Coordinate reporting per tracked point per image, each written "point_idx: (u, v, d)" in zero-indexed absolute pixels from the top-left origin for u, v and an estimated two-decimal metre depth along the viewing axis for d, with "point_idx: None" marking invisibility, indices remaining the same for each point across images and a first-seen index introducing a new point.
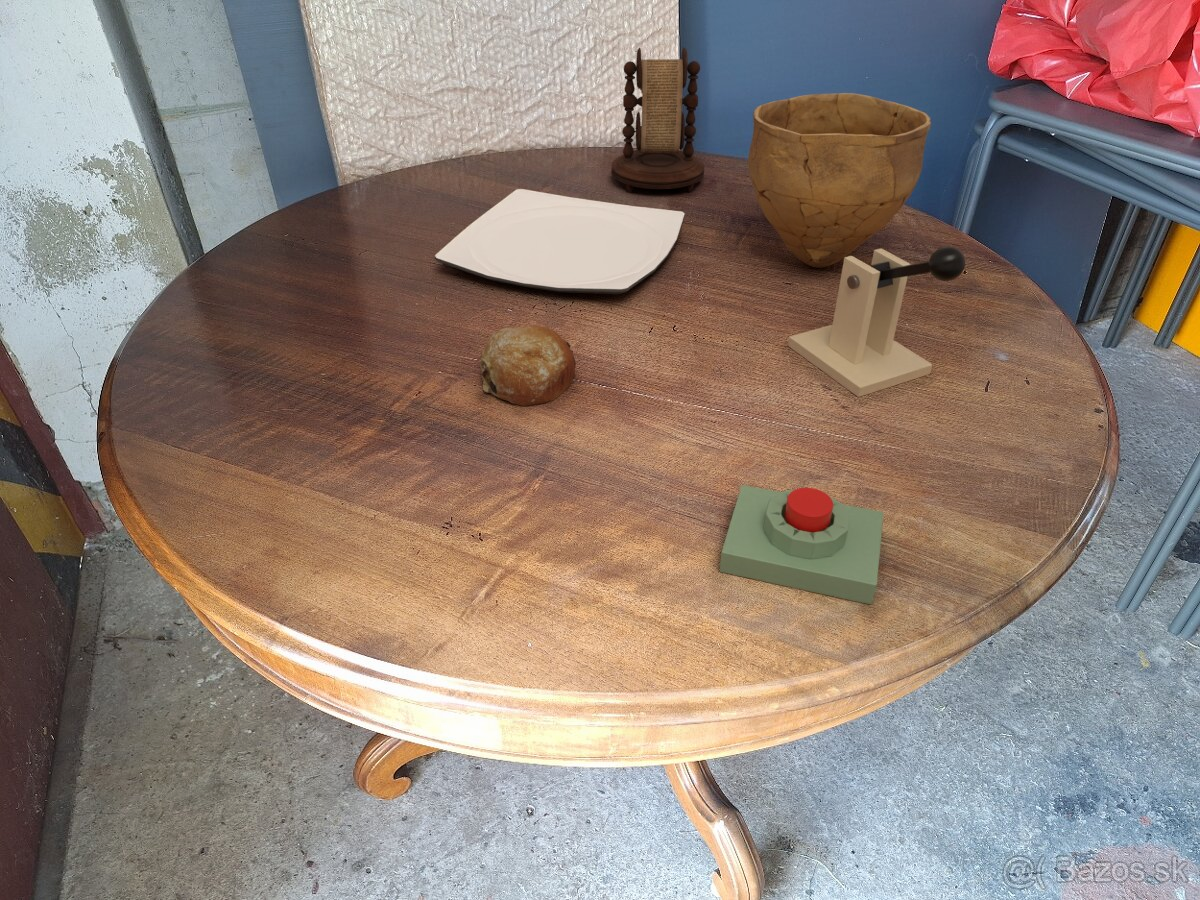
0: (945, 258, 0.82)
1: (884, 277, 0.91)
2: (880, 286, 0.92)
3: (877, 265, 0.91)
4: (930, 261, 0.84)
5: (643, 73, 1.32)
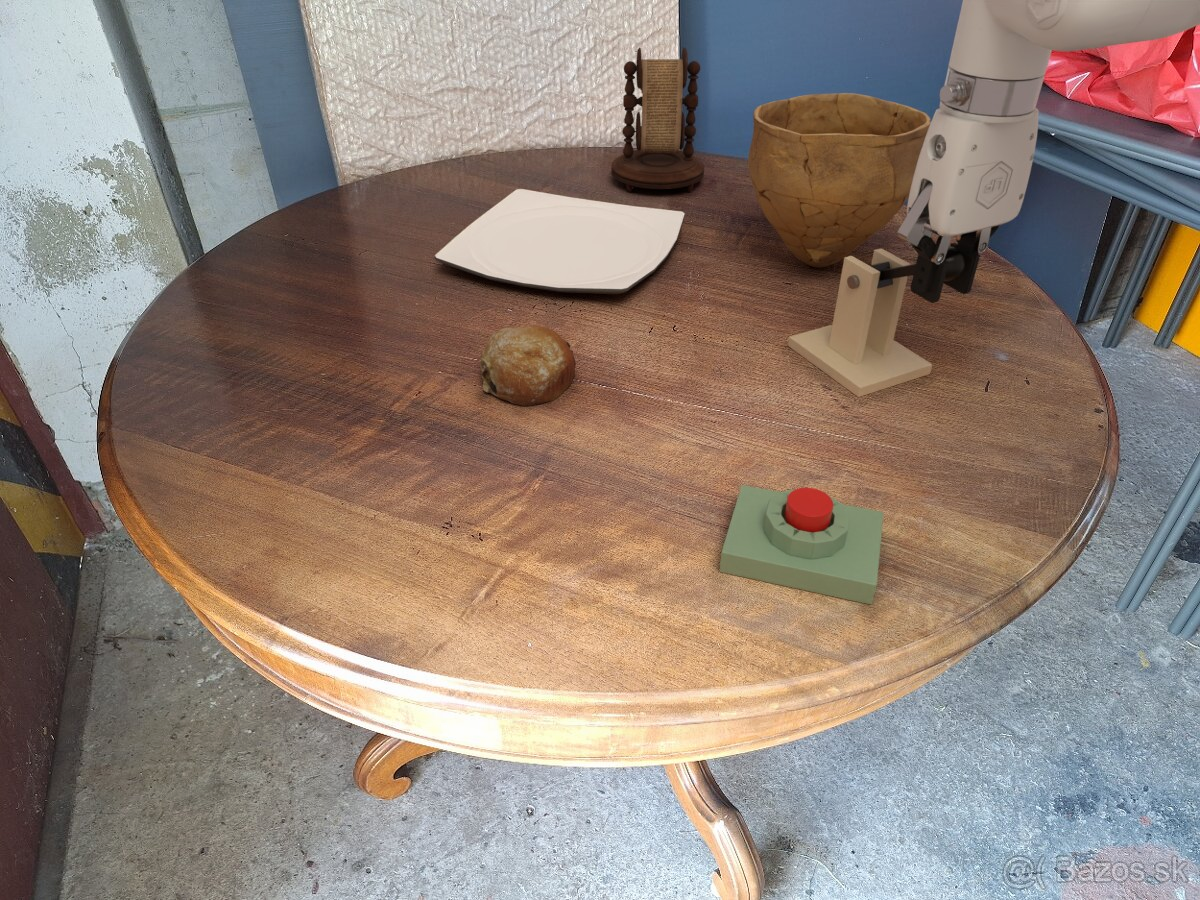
0: (945, 258, 0.82)
1: (884, 277, 0.91)
2: (880, 286, 0.92)
3: (877, 265, 0.91)
4: None
5: (643, 73, 1.32)
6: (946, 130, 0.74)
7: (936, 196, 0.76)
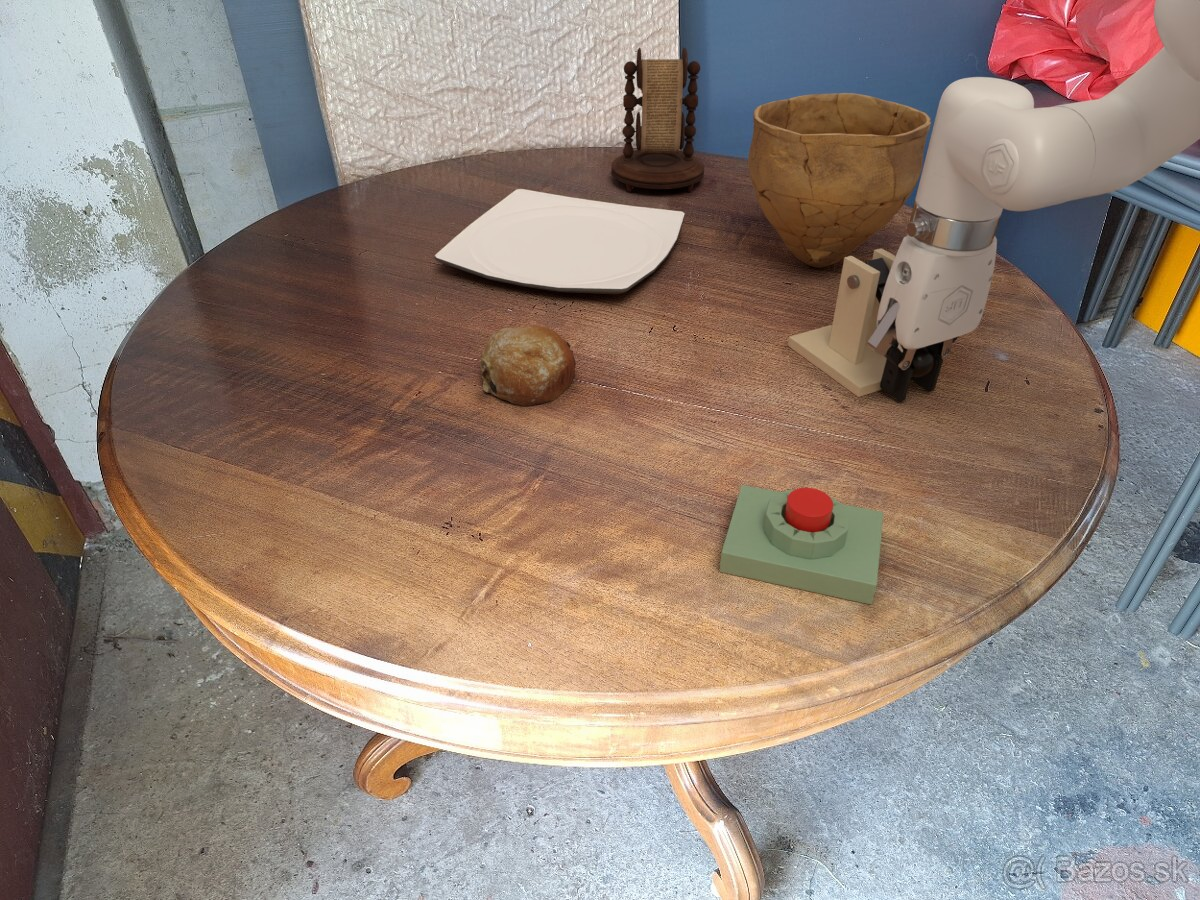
0: (916, 370, 0.90)
1: (877, 296, 0.92)
2: None
3: (881, 283, 0.91)
4: None
5: (643, 73, 1.32)
6: (912, 259, 0.81)
7: (902, 315, 0.84)
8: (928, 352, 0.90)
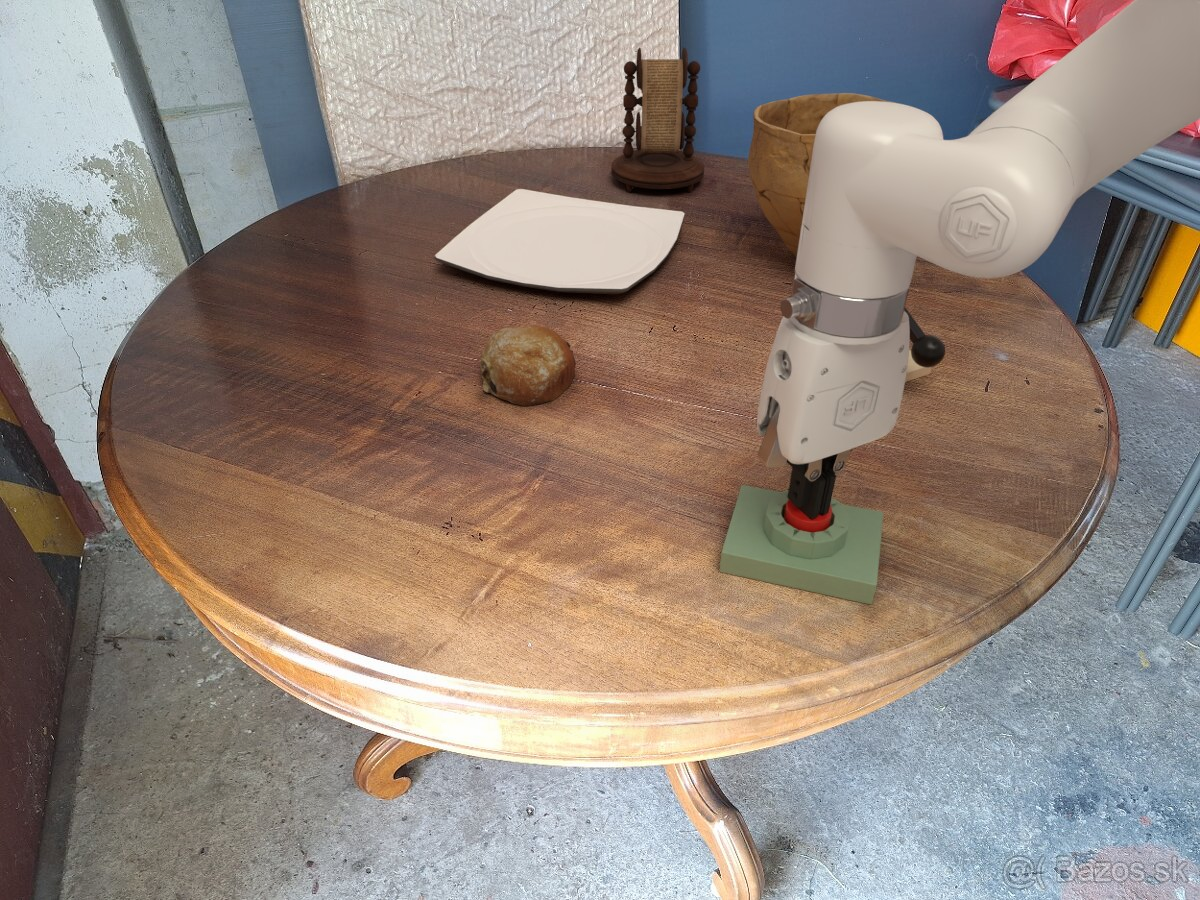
0: (928, 358, 0.88)
1: None
2: None
3: None
4: (917, 346, 0.88)
5: (643, 73, 1.32)
6: (791, 348, 0.60)
7: (784, 421, 0.62)
8: (938, 339, 0.88)
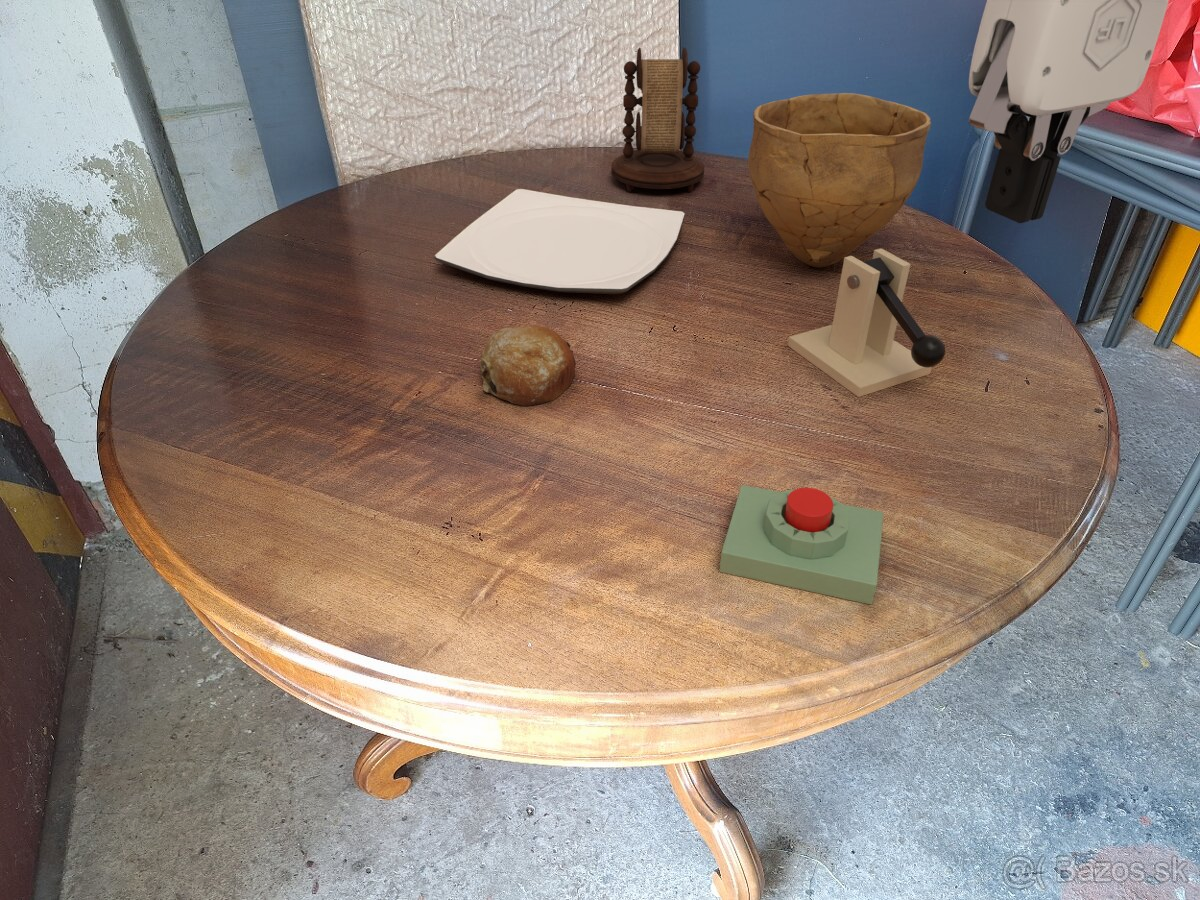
0: (928, 358, 0.88)
1: (879, 294, 0.92)
2: None
3: (882, 280, 0.91)
4: (917, 346, 0.88)
5: (643, 73, 1.32)
6: None
7: (1021, 45, 0.48)
8: (938, 339, 0.88)
